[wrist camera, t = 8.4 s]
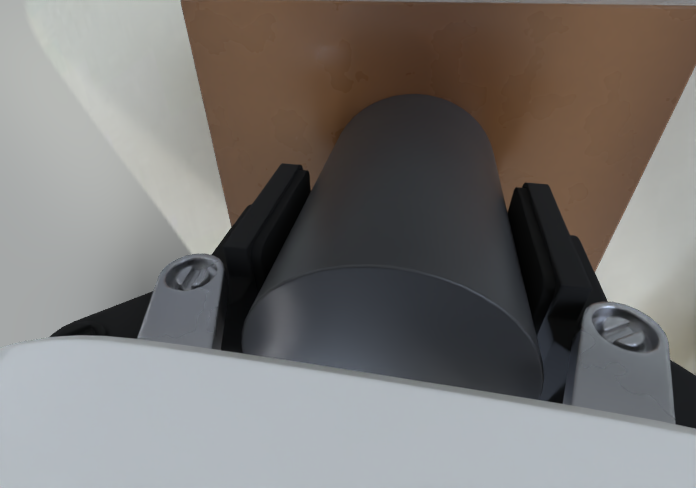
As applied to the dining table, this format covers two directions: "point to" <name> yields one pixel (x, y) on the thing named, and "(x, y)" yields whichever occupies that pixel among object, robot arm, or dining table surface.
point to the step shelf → (450, 86)
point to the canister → (404, 259)
